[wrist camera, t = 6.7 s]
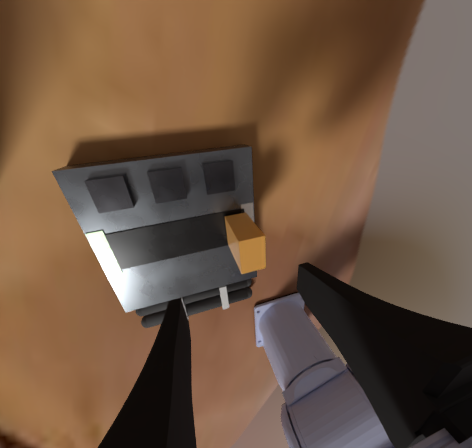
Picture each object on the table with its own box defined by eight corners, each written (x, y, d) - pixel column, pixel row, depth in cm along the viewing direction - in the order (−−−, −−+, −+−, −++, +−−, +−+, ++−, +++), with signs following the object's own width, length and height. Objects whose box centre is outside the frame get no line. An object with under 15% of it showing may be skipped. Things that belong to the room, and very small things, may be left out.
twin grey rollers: (250, 291, 26) (254, 300, 25) (144, 321, 23) (142, 333, 22) (248, 270, 24) (253, 279, 23) (134, 301, 21) (132, 312, 20)
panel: (251, 265, 24) (258, 280, 22) (129, 297, 21) (124, 317, 19) (243, 144, 17) (254, 147, 15) (66, 166, 14) (46, 173, 12)
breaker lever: (247, 240, 19) (265, 267, 15) (227, 244, 19) (241, 274, 15) (245, 212, 18) (265, 235, 14) (224, 216, 17) (238, 241, 14)
